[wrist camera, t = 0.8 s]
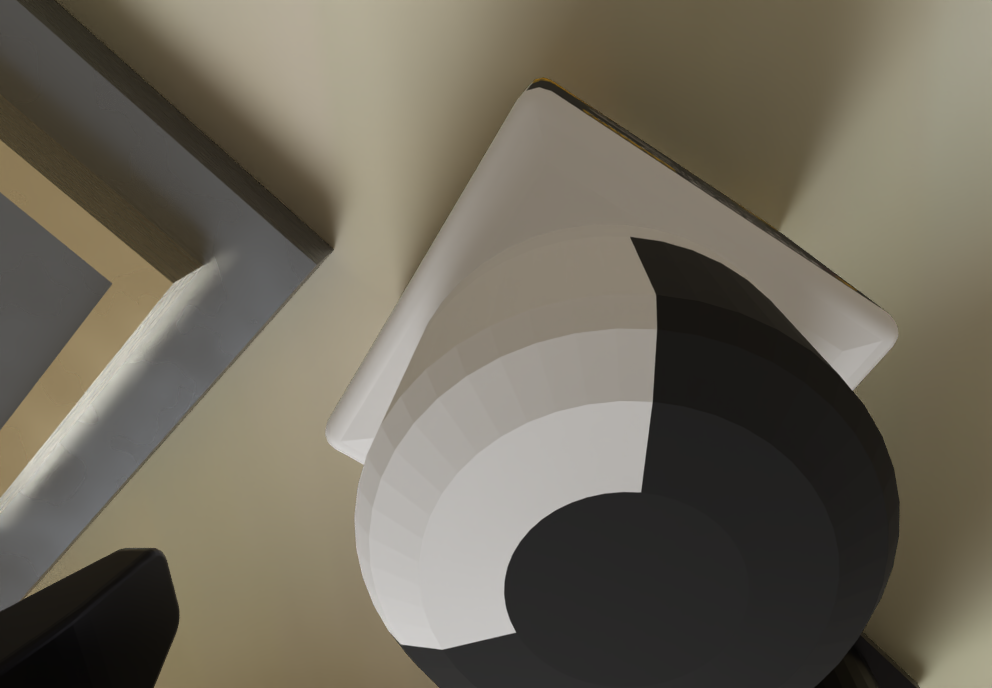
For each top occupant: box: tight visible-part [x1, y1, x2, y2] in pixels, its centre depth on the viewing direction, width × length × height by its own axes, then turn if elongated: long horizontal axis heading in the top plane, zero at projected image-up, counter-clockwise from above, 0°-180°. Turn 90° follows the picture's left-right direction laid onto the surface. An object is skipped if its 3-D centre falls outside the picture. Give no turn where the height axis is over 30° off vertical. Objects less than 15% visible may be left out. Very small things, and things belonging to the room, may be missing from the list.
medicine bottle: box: [325, 78, 899, 688], centre depth 13 cm, size 7×7×12 cm
